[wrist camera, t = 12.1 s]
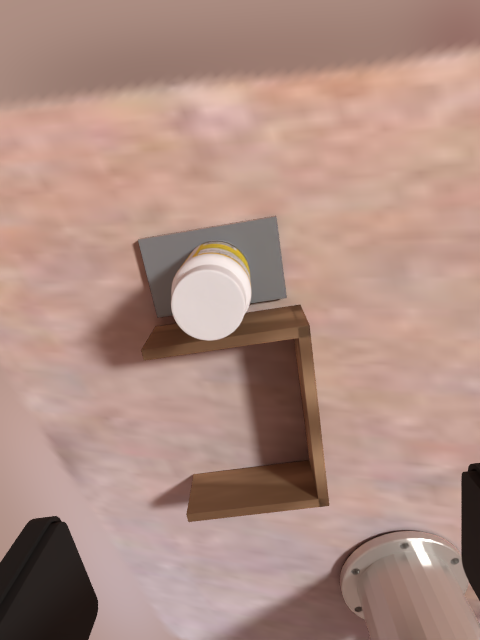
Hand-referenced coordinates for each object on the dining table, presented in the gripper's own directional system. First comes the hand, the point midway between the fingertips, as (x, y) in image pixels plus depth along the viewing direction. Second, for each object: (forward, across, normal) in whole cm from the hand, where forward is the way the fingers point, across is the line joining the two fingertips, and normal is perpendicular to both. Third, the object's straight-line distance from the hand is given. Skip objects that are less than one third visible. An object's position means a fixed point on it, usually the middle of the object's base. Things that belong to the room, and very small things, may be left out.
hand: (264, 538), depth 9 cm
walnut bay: (+22, +2, +9) cm, 23 cm away
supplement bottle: (+21, +2, -3) cm, 21 cm away
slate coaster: (+21, +3, -3) cm, 22 cm away
